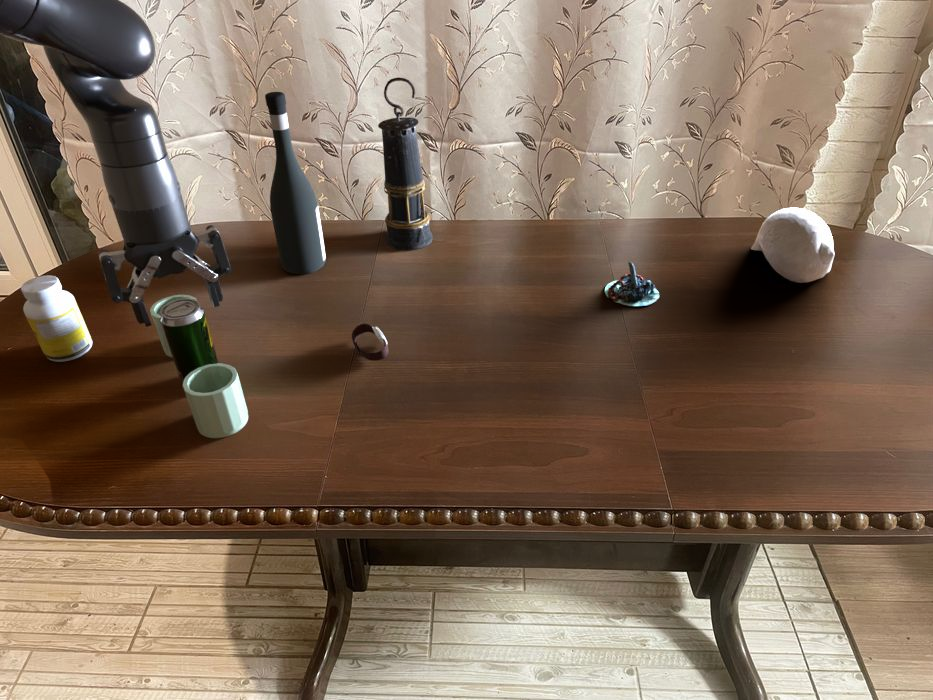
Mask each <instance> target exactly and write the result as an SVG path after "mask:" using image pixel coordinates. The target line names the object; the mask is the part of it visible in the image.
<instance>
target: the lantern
mask: <svg viewBox="0 0 933 700" xmlns="http://www.w3.org/2000/svg"><path fill="white" fill-rule="evenodd" d="M394 82H404V83H407V84H408V85H409V86H410V88H411V91H412V93H411V94H412V95H411V98H412V99H416V88H415V86H414V84H413V83H412V82H411V81H410V80H409V79H407V78H405V77H393V78H391V79H389V80H388V81H387V82H386V83H385V86H384V89H383V97H384V100H385V101H386V103H387V104H388V105H389V106H391V107H393V114H394V115H395V116H396V117H391V118H387V119H383V120H382V121H381V122H379V123H378V124H377V127H378V129H380V130H381V137H382V149H383V150H382V152H383V167H384V183H383V186H384V187H383V191H384V193H385V194H387V204H388V206H387V208H388V213H387V214H386V216H385V218H384V223H385V226H386V235H385V242H386V244H387V245H388V246H389V247H390V248H393V249H395V250H402V251H414V250H415V251H416V250H420V249H424V248H427V247H428V246H429V245H431V244H432V242H433V238H434V237H433V233H432V231H431V226H430V219H431V216H430V214H429V213H428V212H427V211H426V209H425V200H424V199H425V198H424V193H423V192H424V191H425V189H426V185H425V183H426V182H425V179H424V176H423V169H422V164H421V158H420V150H419V143H418V136H417V135H418V134H417V126H418V125H419V123H420V121H419V120H418V119H417V118H415V117H408V116H407V117H403V116H404V114H405V110H404V108H403V107H402V106H400V105H399V104H396V103H393V102H392V101H391V100H390V99H389V97H388V94H387V93H388V89H389V88H388V87H389V86H390V84H392V83H394ZM397 109H399V110H400V111H397Z"/></svg>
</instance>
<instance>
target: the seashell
mask: <svg viewBox="0 0 933 700" xmlns="http://www.w3.org/2000/svg"><path fill="white" fill-rule="evenodd" d="M750 249H751V250H753V251H761V252H762V253H763V255H764V257H765V259H766V261H767V262H768V263H769V265H770V266H771V268H772V269H773V270H774V271H775V272H776V273H777V274H779V275H780V276H782V278H784V279H787V281H789V282H794V283H800V284H802V283H810V282H814V281H817V280H819V279H822V278H824V277H825V276H826V274H828V273H830V271H831V269H832V265H833V262H834V258H835V250H834V239H833V236H832V232H831V229H830V227H829V226H828V225H827V223H826V222H825V220H823V218H821V217H820V216H818V215H817V214H816V213H815V212H812V211H810V210H807V209H806V208H801V207H800V208H799V207H787V208H781V209H780V210H777V211H775V212H773V213H771V214H770V215H769V216H768V217H767V218H766V219H765V220H764V222H763V223H762V224H761V225H760V227H759V231H758V233H757V235H756V239H755V241H754V243H753V245H752V246H751V247H750Z"/></svg>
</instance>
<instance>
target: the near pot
mask: <svg viewBox="0 0 933 700" xmlns="http://www.w3.org/2000/svg"><path fill="white" fill-rule="evenodd" d="M182 389H183V392H184V395H185V397H186V400H187V404H188V406H189V409H190V412H191V415H192V418H193V421H194V424H195V427H196V430H197V431H198V433H199V434H200V435H201V436H203V437H205V438H210V439H221V438H222V439H223V438H226V437H230V436H232V435H234V434H237V433H238V432H240V431H241V430H242V429H243V428H244V427H245V426H246V425H247V423H248V421H249V411H248V407H247V403H246V400H245V395H244V392H243V388H242V384H241V381H240V377H239V374H238V371H237V370H236V368H235V367H234V366H232V365H230V364H226V363H220V362H219V363H217V364H209V365H205V366H202V367H199V368H197V369H195V370H194V371H192V372H190V373H189V374H188V375H187V376H186V377H185V379H184V382H183V384H182Z"/></svg>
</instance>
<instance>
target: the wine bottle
mask: <svg viewBox="0 0 933 700" xmlns="http://www.w3.org/2000/svg"><path fill="white" fill-rule="evenodd" d="M264 98H265V104H266V107H267V109H268V114H269V119H270V124H271V125H270V126H271V131H272V136H273V142H274V147H275V166H274V172H273V177H272V180H271V185H270V192H269V209H270V210H269V211H270V216H271V221H272V225H273V230H274V235H275V241H276V246H277V251H278V257H279V261H280V266H281V268H283V269H284V271H285V272H288V273H290V274H294V275H309V274H312V273H314V272H317V271H319V270H320V269H321V268H323V267H324V266H325V264H326V261H327V256H326V250H325V249H326V248H325V242H324V235H323V229H322V222H321V216H320V210H319V204H318V200H317V197H316V194H315V191H314V189H313V187H312V184H311V183H310V181H309V179H308V178H307V175H306V174H305V173H304V171H303V169H302V168H301V166H300V164H299V162H298V159H297V157H296V155H295V151H294V148H293V144H292V143H293V142H292V138H291V137H292V136H291V131H290V126H289V119H288V112H287V100H286V93H285V92H283V91H271V92H270V91H269V92H267V93H265V95H264Z"/></svg>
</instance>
